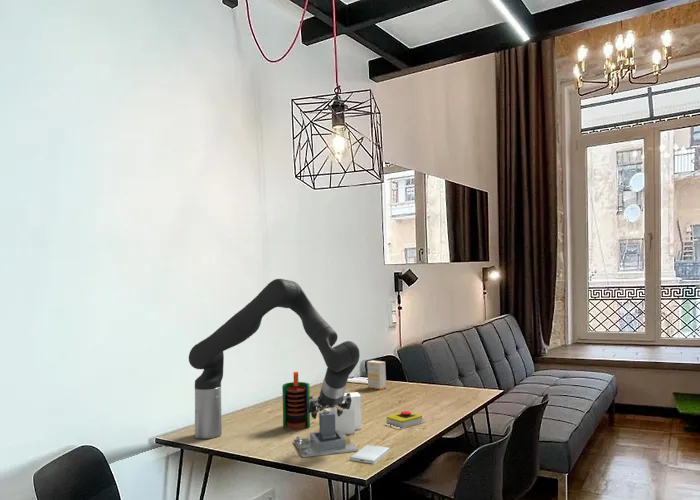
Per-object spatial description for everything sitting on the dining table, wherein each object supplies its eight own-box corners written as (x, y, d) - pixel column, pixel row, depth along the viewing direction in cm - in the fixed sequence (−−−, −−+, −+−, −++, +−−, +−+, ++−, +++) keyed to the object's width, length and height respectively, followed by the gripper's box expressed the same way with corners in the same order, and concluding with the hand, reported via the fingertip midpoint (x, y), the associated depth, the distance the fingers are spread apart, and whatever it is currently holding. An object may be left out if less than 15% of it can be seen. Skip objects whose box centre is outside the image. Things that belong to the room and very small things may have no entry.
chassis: (302, 457, 168) (302, 446, 168) (293, 442, 184) (293, 432, 184) (357, 451, 173) (357, 440, 173) (344, 436, 188) (344, 427, 189)
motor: (284, 431, 196) (283, 376, 197) (281, 424, 205) (280, 371, 206) (311, 428, 199) (310, 374, 200) (307, 422, 208) (306, 369, 208)
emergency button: (426, 411, 205) (398, 419, 195) (426, 423, 204) (398, 431, 195) (408, 407, 212) (380, 414, 202) (409, 418, 212) (381, 425, 202)
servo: (323, 447, 175) (322, 413, 175) (319, 441, 181) (318, 408, 181) (336, 445, 176) (335, 411, 177) (332, 440, 182) (331, 407, 182)
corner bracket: (358, 424, 203) (357, 392, 204) (364, 433, 192) (363, 399, 193) (330, 426, 202) (329, 393, 202) (334, 435, 191) (334, 401, 191)
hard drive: (366, 444, 176) (349, 456, 165) (389, 447, 173) (373, 460, 162) (366, 449, 176) (349, 461, 165) (389, 452, 173) (374, 465, 161)
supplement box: (386, 388, 263) (385, 361, 264) (380, 390, 260) (379, 362, 260) (373, 386, 269) (373, 359, 269) (367, 387, 265) (366, 361, 266)
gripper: (352, 376, 174) (344, 403, 185) (309, 379, 170) (303, 407, 181) (357, 396, 169) (348, 423, 180) (313, 400, 165) (306, 427, 176)
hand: (326, 415), depth 180 cm, fingers open, 8 cm apart
